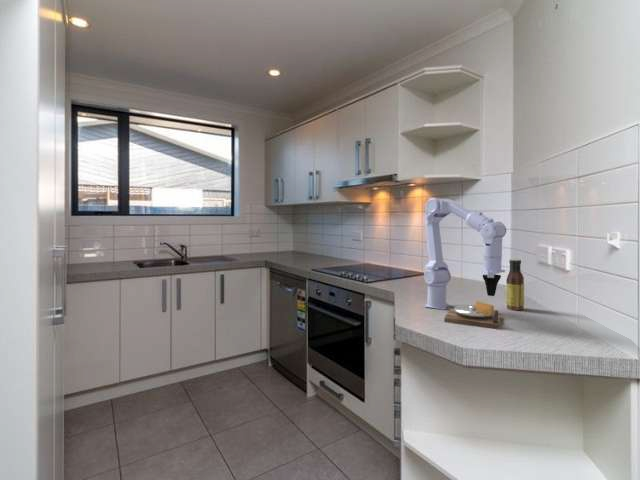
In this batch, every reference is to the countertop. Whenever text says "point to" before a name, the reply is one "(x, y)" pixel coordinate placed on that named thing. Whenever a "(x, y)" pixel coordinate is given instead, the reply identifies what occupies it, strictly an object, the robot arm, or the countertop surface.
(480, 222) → the robot arm
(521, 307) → the sauce bottle
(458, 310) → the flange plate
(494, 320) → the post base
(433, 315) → the countertop surface
